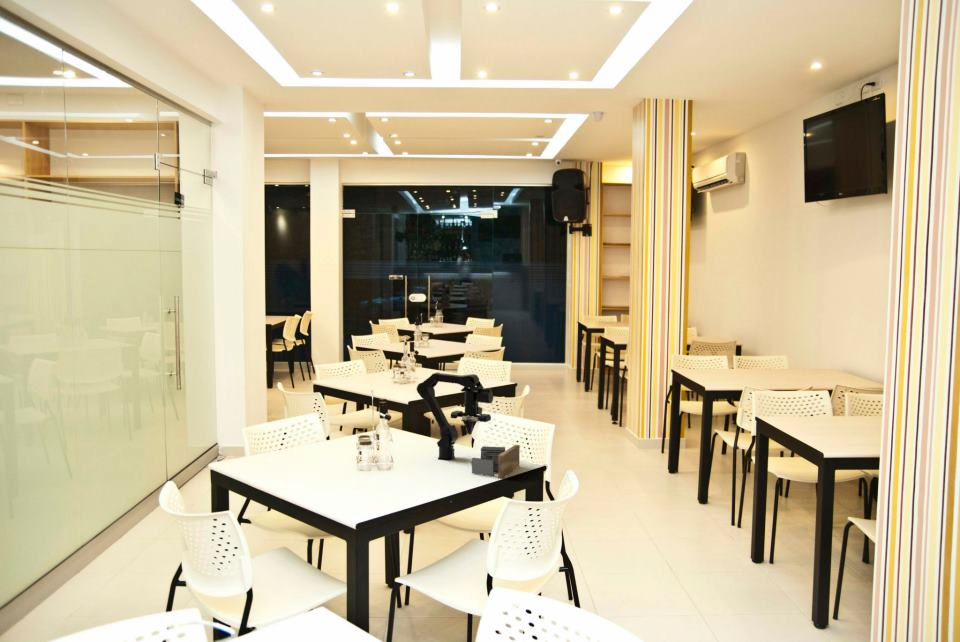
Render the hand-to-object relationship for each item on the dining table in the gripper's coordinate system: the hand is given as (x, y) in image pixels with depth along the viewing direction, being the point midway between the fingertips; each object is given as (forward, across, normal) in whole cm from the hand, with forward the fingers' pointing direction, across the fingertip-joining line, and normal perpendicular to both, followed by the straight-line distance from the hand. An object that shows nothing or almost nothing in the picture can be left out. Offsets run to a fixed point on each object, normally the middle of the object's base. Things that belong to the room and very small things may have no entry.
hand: (470, 434), depth 327 cm
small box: (+13, -17, +10) cm, 23 cm away
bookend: (+13, -16, +18) cm, 27 cm away
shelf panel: (+12, -24, +9) cm, 29 cm away
